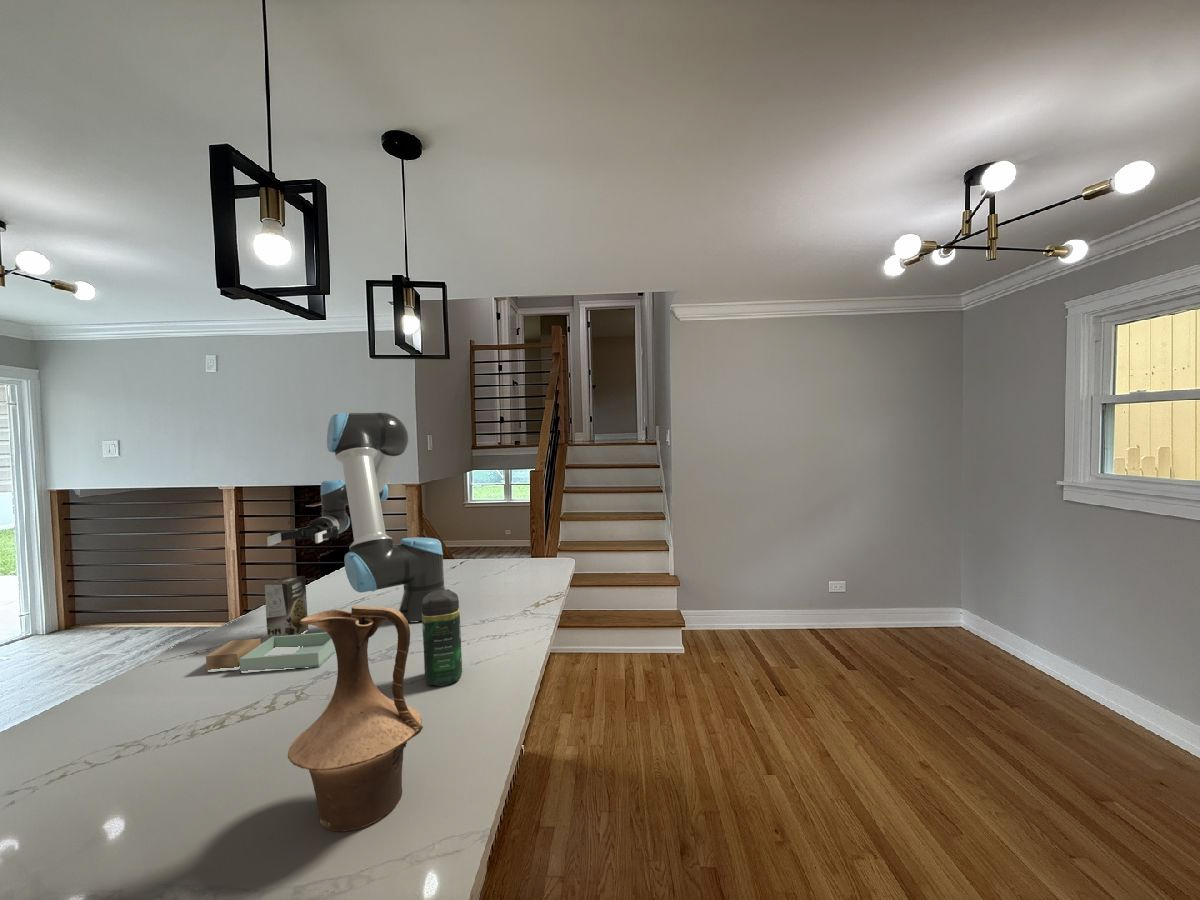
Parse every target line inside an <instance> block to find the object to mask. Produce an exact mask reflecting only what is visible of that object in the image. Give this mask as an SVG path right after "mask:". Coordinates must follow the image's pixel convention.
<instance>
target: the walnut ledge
mask: <svg viewBox="0 0 1200 900" xmlns="http://www.w3.org/2000/svg"><path fill="white" fill-rule="evenodd" d="M261 644H262V643H261V638H249V639H237V640H235V639H234V640H230V641H228V642H227V643H225V644H224V645H222V646H219V648H216V649H215V650H214V651H212V652H210V653H209V654H207V655H206V656H205V660H206V662H205V664H206V665H205V666H206V671H207V670H211V669H220V668H234V667H239V666H240V663H239V659H240V658H242V657H243V656H244V655H246V654H247V653H249V652H250V651H252V650H253V649H255V648H256V647H258V646H259V645H261Z"/></svg>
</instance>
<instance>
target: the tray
mask: <svg viewBox="0 0 1200 900" xmlns="http://www.w3.org/2000/svg"><path fill="white" fill-rule="evenodd" d="M298 646H300V648H299V650H297V651H296V653H293V654H281V655H268V656H264V655H265V654H267V653H268V652H269V651H271V650H272V649H273V648H275V647H298ZM302 646H303V648H302ZM335 651H336V650H335V646H334V643H333V641H332V639H331V637H330V636H329V634H328V633H327V632H326V631H325V632H314V633H306V634H299V635H286V636H273V637H271V638H269V639H268V640H265V641H263V642H262V643H261V645H259V646H258V647H256V648H255V649H253V650H252V651H250V652H249V653H247V654H246V655H244V656H243V657H242V658H240V659H239V663H240V670H239V672H240V671H248V670H265V669H284V668H305V667H319V668H320V667H322V665H324V663H326V661H328V660H329V659H330V658H331V657H332V656H333V655H334V654H335V653H336V652H335ZM334 652H335V653H334ZM333 653H334V654H333ZM332 654H333V655H332ZM331 655H332V656H331ZM330 656H331V657H330ZM329 657H330V658H329ZM328 658H329V659H328ZM327 659H328V660H327Z"/></svg>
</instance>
